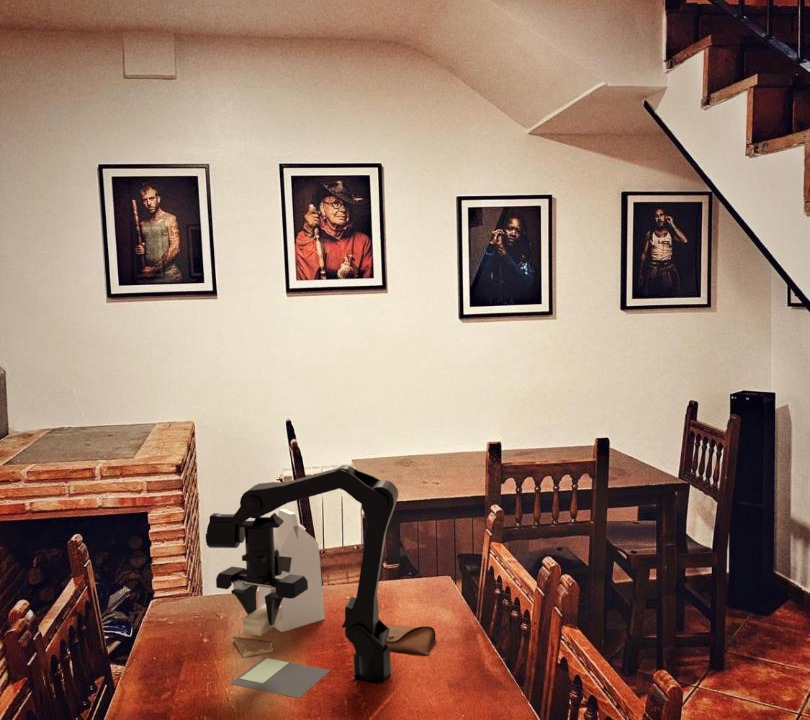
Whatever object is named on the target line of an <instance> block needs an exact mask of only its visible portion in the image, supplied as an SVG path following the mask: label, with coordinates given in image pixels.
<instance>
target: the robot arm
mask: <svg viewBox="0 0 810 720" xmlns="http://www.w3.org/2000/svg"><path fill="white" fill-rule="evenodd" d="M339 489H340V490H342V491H344V492H346V494H348V495H349V496H351V497H352V499H354V500H355V501H356V502H358V503H359V504H361V505H363V506H364V518H365V524H366V532H365V533H366V534H365V538H364V539H365V540H364V545H363V546H364V547H363V554H362V560H361V566H360V572H359V577H358V578H359V579H358V584H357V592H356V596H355V597H354V596H350V597H349V600H348V602H347V604H346V606H345V608H344V621H343V624H342V626H341V628H342V629H344V628H345V629H344V635H345V638H346V639H347V641H348V642H350V643H351V644H352V646H353V648H354V651H355V652H354V653H353V672H354V676H353V677H352V680H353V681H354V680H355V681H360V682H365V683H370V684H375V685H383V683H385V682H386V680H387V679H388V678H389V677H390V676H391V675H392V674H393V673H394V671H395V669H392V668H391V652H390V646H388V645H386V644H385V643H386V640H387V637H388V634H389V631H390V629H389V628H388V627H387V626H386V625H387V624H385V623H384V622H383V621H382V620H381V619H380V618H379V617H380V616H379V615H380V613H379V611H380V610H379V601H378V589H379V582H380V575H381V570H382V564H383V563H382V562H383V556H384V550H385V543H386V538H387V537H386V536H387V531H388V526H389V523H390V521H391V518H392V516H393V513H394V511H395V507H396V505H397V501H398V499H399V490H398V488H397V486H396V485H395V484H394V483H393V482H391V481H389V480H387V479H386V480H385V479H379V478H377V477H375V476H373V475H370V474H368V473H366V472H363V471H360V470H358V469H356V468H354V467H353V466H351V465H350V464H342V465H341V466H339V467H336V468H333V469H328V470H326V471H322V472H318V473H315V474H311V475H307V476H304V477H300V478H298V479H294V480H290V481H284V482H279V481H278V482H276V481H275V482H274V481H271V482H270V481H269V482H261V483H257V484H255V485H253V486H252V487H251V488H249V489H248V490H247V491H245V492H244V493H242V495H241V497H240V502H239V505H240V506H239V508H238V509H237V511H236V512H235V513H234V514H232V513H231V514H229V513H228V514H227V513H226V514H224V513H219V512H218V513H216V512H215V513H212V514H211V515H210V516H209V521H208V522H209V523H208V525H207V528H206V533H205V542H206V545H207V547H208V548H212V549H238V548H239V546H240V544H243V543H244V542H245V543H244V545H245V546H244V547H245V554H242V555H241V561H242V562H245V566H246V568H245V567H238V566H229V567H228V568H226V569H224V570H223V571H220V572H219V573H218V574H217V576H216V577H215V587H216V589H223V590H229V589H230V588H231V586H233V589H232V590H231V594H232V595H233V596H235V597H236V599H237V600H238V601H239V603H240V604H241V606H242V607H243V610H244V611H245V612H246V613H245V614H247V615H249V614H250V613H252V612H253V611H255V610H257V609H258V608H257V591H258V589H259V586H261V587H268V588H271V593H270V594H268V595H266V596H265V603H266V609H267V615H268V620H269V624H270V625H271V626H272V625H273V624H274V623H275V620H276V616H277V613H278V610H279V607H280V604H281V602H282V599H283V598H289V599H292V598H295V597H297V596H298V595H300V594H301V593H303V592H304V591H306V590H307V589H308V581H307V579H306V578H305V577H304V576H300V575H292V574H289V575H288V576H286V577H284V578H283V579H276V578H275V576H279V575H281V574H282V571H285V572H288V573H290V567H291V560H292V557H285V556H279V551H278V550H276V549H274V529H273V528H278V527H279V526H280V525H281V524H282V523H283V522H284V521H283V520H282V519H281V518H280V517H278V514H277V513H276V512H274V511H276V510H277V509H279V508H280V507H282V506H285V505H287V504H289V503H292V502H296V501H300V500H304V499H308V498H311V497H315V496H317V495H321V494H326V493H329V492H332V491H336V490H339ZM271 512H273V513H272V514H271V515H270V516H265V515H267V514H270V513H271ZM249 519H254V520H249ZM268 582H269V583H268ZM232 584H233V585H232ZM247 615H246V616H247Z"/></svg>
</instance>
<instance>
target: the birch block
mask: <svg viewBox="0 0 810 720" xmlns="http://www.w3.org/2000/svg"><path fill="white" fill-rule="evenodd" d="M281 621H282V606H280V607H279V610H278V613H277V616H276V620H275V623H274V624H273V625H272V626H271V625H270V624H269V620H268V615H267V609H266V604H264V605H263V606H261V607H260V608H259V607H258V608H257V610H255V611H253V612H252V613H250V614H249V615H245V616H243V618H242V630H243V632H242V633H243V634H249V635H253V636H254V635H255V636H259V637H260V636H263V635H264V634H265V633H267V632H268V631H269V630H271V629H273V628H275V627H274V626H275V625H277V624H278V623H279V622H281Z"/></svg>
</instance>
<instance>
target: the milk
mask: <svg viewBox="0 0 810 720" xmlns="http://www.w3.org/2000/svg"><path fill="white" fill-rule="evenodd" d="M277 513H278V514H277V516H278V517H280V518H281V519H282V520H283V521H284V522H283V523H282V524H281V525H280V526H279V527H278V528H273V529H274V549H276V550H278V551H279V556H285V557H292V560H291V567H290V573H288V572H285V571H282V574H281V575H279V576H275V578H276V579H283V578H284V577H286V576H288V575H289V574H292V575H300V576H304V577H305V578H306V579H307V581H308V589H307V590H306V591H304V592H303V593H301V594H300V595H298V596H297V597H295V598H292V599H289V598H283V599H282V602H281V604H280V606H282V621H281V622H279V623H278V624H277V625H275V626H274V627H273V628H275V629H276V630H278V631H279V632H281V633H284V632H288V631H290V630H293V629H297V628H300V627H303V626H307V625H311V624H312V623H316V622H321V621H323V620H325V606H324V605H325V604H324V597H323V596H324V595H323V583H322V569H321V559H320V548H319V544H318V541H317V540H316V538H314V537H313V536H312V535H310V534H309V532H307V531H306V529H307V528H305V526H304V525H302V524H301V523H300V522H298V517H297V514H296V512H293V511H292V510H291V511H290V510H289V509H286V508H282V509H278V512H277ZM268 583H269V582H268ZM270 593H271V588H268V587H261V586H258V608H260V607H261V606H263V605H264V604H266V603H265V596H266V595H268V594H270Z"/></svg>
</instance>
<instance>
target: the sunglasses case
mask: <svg viewBox="0 0 810 720" xmlns="http://www.w3.org/2000/svg"><path fill="white" fill-rule="evenodd" d="M385 625H386V626H387V627H388V628H389V629H390V631H389V634H388V637H387V640H386V643H385V644H386V645H388V646H390V653H396V654H402V653H404V654H405V653H406V654H407V655H417V654H421V655H420V656H430V655H431V650H432V648H433V645H434V643H435V641H436V630H435V629H434V627H432V626H429V625H427V626H425V625H424V626H423V625H422V626H411V625H410V626H408V625H394V624H393V625H392V624H385ZM429 653H430V654H429Z"/></svg>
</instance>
